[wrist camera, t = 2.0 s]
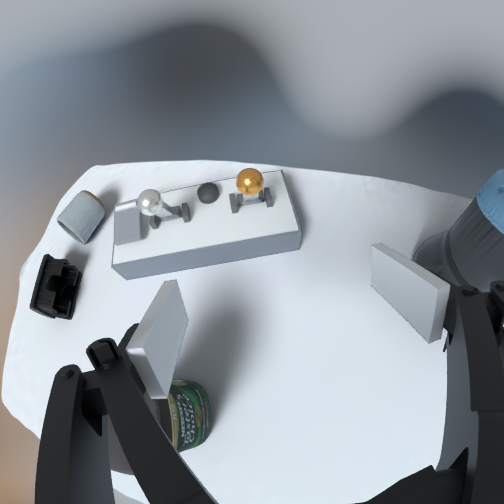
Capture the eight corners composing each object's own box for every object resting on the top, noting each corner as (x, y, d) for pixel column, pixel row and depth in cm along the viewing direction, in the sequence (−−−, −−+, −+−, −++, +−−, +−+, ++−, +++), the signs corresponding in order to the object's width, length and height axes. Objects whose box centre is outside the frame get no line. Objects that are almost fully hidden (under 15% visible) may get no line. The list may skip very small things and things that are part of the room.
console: (299, 249, 41) (303, 224, 35) (126, 280, 41) (105, 261, 35) (282, 189, 47) (282, 161, 41) (130, 220, 47) (114, 197, 41)
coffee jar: (214, 446, 29) (161, 492, 12) (159, 441, 29) (76, 468, 13) (211, 379, 33) (153, 371, 17) (156, 377, 34) (71, 362, 17)
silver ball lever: (183, 223, 39) (161, 209, 29) (160, 228, 39) (132, 216, 29) (180, 202, 39) (158, 182, 29) (157, 207, 39) (130, 190, 29)
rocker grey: (142, 240, 37) (138, 236, 36) (117, 245, 37) (112, 242, 36) (141, 201, 39) (138, 197, 38) (117, 207, 39) (113, 203, 38)
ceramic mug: (114, 214, 48) (94, 189, 41) (91, 249, 45) (68, 227, 38) (84, 203, 51) (66, 181, 44) (64, 234, 47) (43, 213, 41)
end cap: (59, 269, 43) (38, 253, 37) (83, 270, 43) (62, 253, 37) (47, 317, 39) (23, 305, 33) (71, 323, 38) (46, 311, 32)
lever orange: (264, 208, 39) (268, 188, 29) (240, 212, 39) (235, 194, 29) (260, 186, 39) (263, 161, 29) (236, 191, 39) (231, 167, 29)
